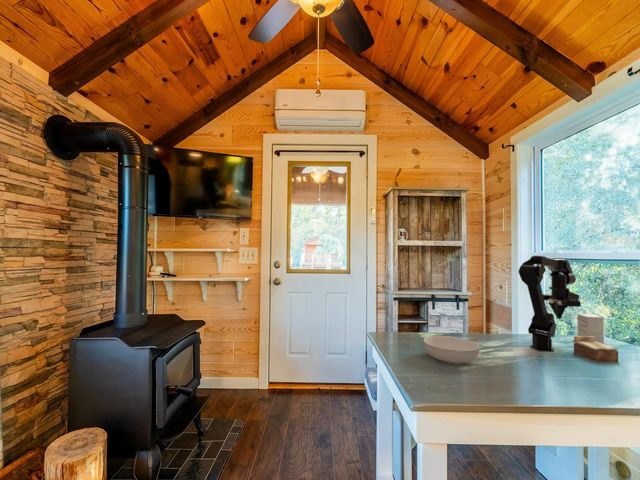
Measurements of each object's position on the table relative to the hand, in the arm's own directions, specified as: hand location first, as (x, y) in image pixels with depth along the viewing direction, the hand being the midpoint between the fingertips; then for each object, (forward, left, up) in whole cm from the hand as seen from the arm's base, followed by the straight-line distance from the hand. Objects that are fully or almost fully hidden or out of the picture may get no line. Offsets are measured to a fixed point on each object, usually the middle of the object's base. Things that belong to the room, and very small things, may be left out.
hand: (558, 318), depth 152 cm
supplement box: (+20, +6, -12) cm, 24 cm away
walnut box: (+1, -18, -12) cm, 22 cm away
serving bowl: (-61, -23, -12) cm, 66 cm away
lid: (+1, -18, -7) cm, 20 cm away
